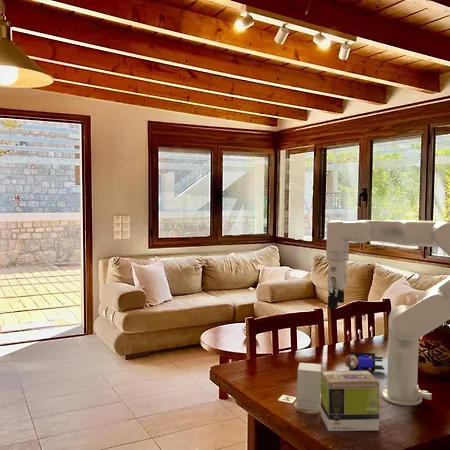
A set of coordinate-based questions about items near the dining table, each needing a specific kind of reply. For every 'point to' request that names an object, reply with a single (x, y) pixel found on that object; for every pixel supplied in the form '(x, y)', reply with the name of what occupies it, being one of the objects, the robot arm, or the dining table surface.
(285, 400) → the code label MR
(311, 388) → the supplement box
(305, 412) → the cork coaster
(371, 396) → the tea box
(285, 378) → the dining table surface
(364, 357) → the character figurine
